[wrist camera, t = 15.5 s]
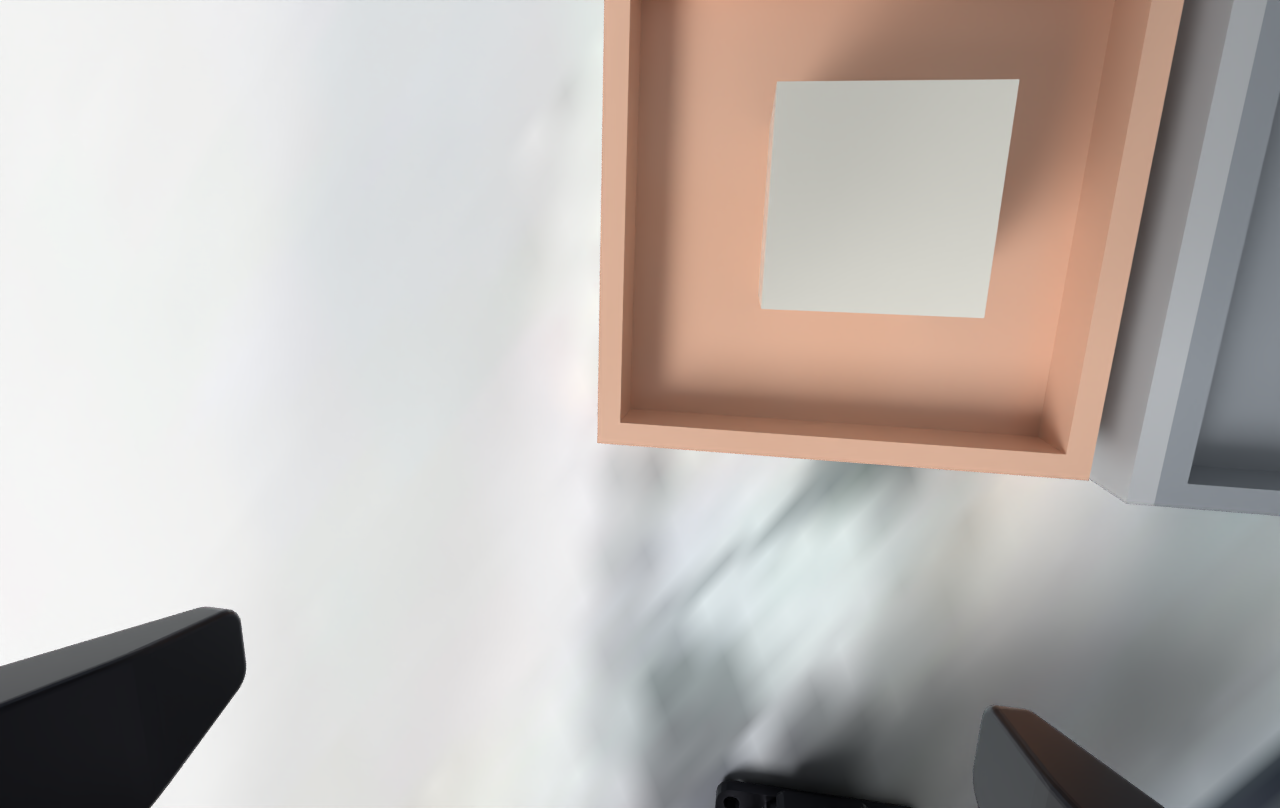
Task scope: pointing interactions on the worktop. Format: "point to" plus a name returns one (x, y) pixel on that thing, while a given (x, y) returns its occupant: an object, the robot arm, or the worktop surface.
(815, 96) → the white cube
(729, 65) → the bin
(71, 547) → the worktop surface
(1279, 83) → the bin
